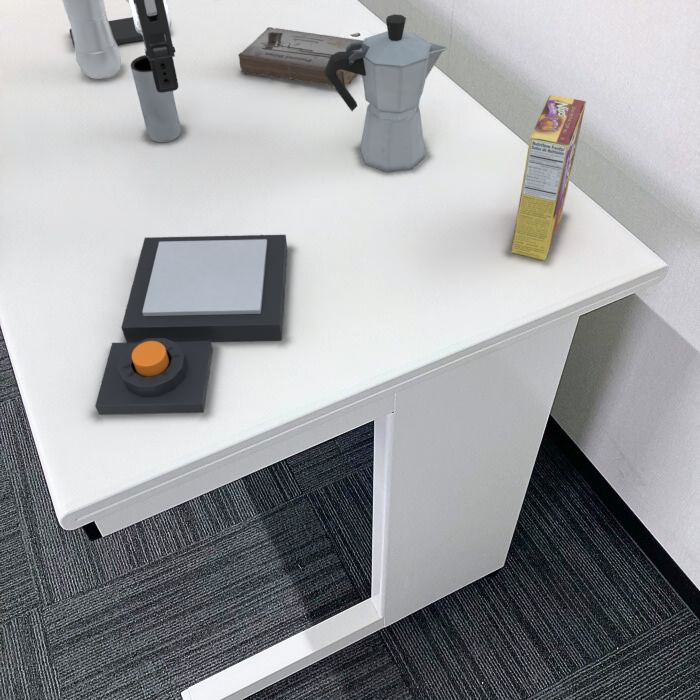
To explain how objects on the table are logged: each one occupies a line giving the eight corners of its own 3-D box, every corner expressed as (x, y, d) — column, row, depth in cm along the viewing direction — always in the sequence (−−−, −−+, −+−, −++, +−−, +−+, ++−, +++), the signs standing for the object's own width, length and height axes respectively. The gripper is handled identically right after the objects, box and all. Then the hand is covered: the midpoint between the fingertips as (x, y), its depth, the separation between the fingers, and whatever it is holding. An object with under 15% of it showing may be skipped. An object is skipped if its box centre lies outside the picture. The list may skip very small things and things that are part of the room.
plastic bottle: (99, 59, 116) (59, -80, 101) (134, 68, 114) (99, -73, 99) (72, 78, 112) (27, -64, 97) (107, 88, 110) (67, -56, 95)
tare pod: (98, 414, 70) (90, 395, 68) (115, 351, 76) (107, 331, 73) (203, 412, 70) (198, 393, 68) (213, 349, 76) (208, 329, 73)
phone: (167, 31, 120) (73, 47, 117) (168, 36, 121) (75, 52, 118) (159, 12, 125) (68, 27, 122) (160, 17, 126) (69, 32, 122)
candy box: (526, 208, 90) (549, 92, 79) (562, 216, 89) (590, 100, 77) (507, 253, 85) (529, 136, 73) (544, 262, 83) (572, 145, 72)
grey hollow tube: (169, 121, 104) (153, 50, 96) (187, 134, 102) (173, 62, 94) (141, 133, 102) (123, 62, 94) (159, 146, 100) (142, 75, 92)
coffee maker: (430, 129, 102) (440, -4, 88) (447, 166, 96) (460, 29, 82) (323, 141, 100) (316, 7, 87) (333, 180, 94) (328, 43, 81)
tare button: (132, 377, 70) (128, 366, 69) (138, 351, 72) (134, 341, 71) (166, 376, 70) (163, 365, 69) (171, 351, 72) (168, 340, 71)
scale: (126, 344, 76) (119, 323, 74) (149, 253, 86) (143, 233, 83) (281, 340, 76) (279, 320, 74) (287, 251, 86) (285, 230, 83)
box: (345, 91, 107) (344, 71, 105) (239, 73, 112) (236, 53, 110) (371, 60, 114) (371, 39, 112) (270, 44, 119) (268, 24, 116)
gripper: (74, -126, 68) (118, 44, 81) (85, -72, 59) (133, 111, 71) (156, -136, 70) (187, 33, 82) (178, -84, 61) (210, 97, 73)
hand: (162, 69), depth 77 cm, fingers open, 8 cm apart
